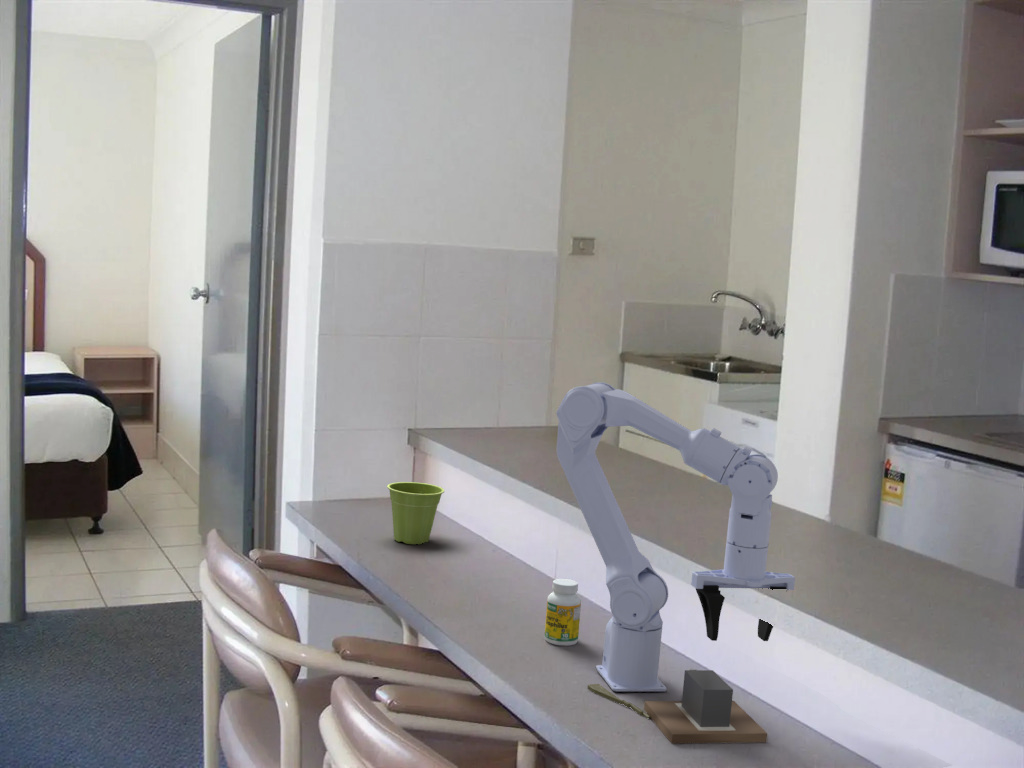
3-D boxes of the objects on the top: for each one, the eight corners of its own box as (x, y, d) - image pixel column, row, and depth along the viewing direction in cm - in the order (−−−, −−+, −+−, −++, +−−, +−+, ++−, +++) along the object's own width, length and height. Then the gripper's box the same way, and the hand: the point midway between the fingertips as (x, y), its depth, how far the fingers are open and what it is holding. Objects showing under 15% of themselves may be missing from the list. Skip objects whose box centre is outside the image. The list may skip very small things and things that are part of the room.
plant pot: (404, 550, 232) (408, 495, 231) (372, 536, 242) (376, 483, 240) (451, 544, 240) (455, 491, 239) (419, 531, 249) (423, 480, 248)
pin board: (643, 709, 158) (646, 682, 157) (733, 709, 161) (735, 682, 160) (671, 743, 147) (674, 714, 147) (766, 742, 150) (769, 714, 150)
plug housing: (676, 700, 159) (679, 665, 158) (703, 700, 159) (707, 665, 159) (700, 727, 150) (704, 689, 149) (729, 726, 151) (733, 689, 150)
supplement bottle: (583, 640, 185) (588, 582, 184) (568, 649, 180) (573, 589, 179) (553, 633, 188) (558, 575, 187) (537, 641, 183) (542, 582, 182)
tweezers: (585, 690, 164) (586, 684, 164) (596, 689, 165) (597, 682, 165) (643, 722, 154) (644, 716, 154) (654, 720, 155) (655, 714, 155)
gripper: (708, 549, 155) (699, 647, 156) (808, 552, 158) (798, 648, 159) (689, 536, 162) (680, 630, 163) (786, 539, 165) (776, 631, 166)
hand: (737, 638), depth 162 cm, fingers open, 7 cm apart
